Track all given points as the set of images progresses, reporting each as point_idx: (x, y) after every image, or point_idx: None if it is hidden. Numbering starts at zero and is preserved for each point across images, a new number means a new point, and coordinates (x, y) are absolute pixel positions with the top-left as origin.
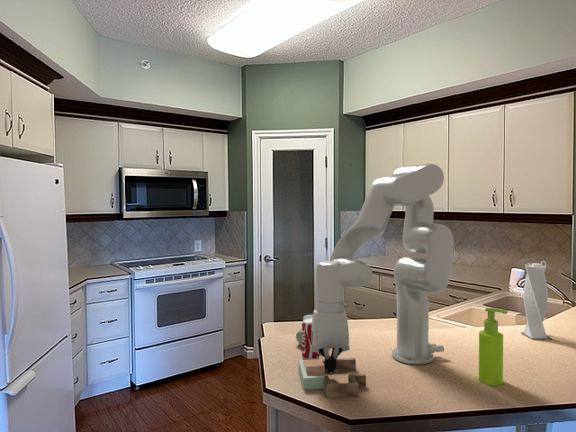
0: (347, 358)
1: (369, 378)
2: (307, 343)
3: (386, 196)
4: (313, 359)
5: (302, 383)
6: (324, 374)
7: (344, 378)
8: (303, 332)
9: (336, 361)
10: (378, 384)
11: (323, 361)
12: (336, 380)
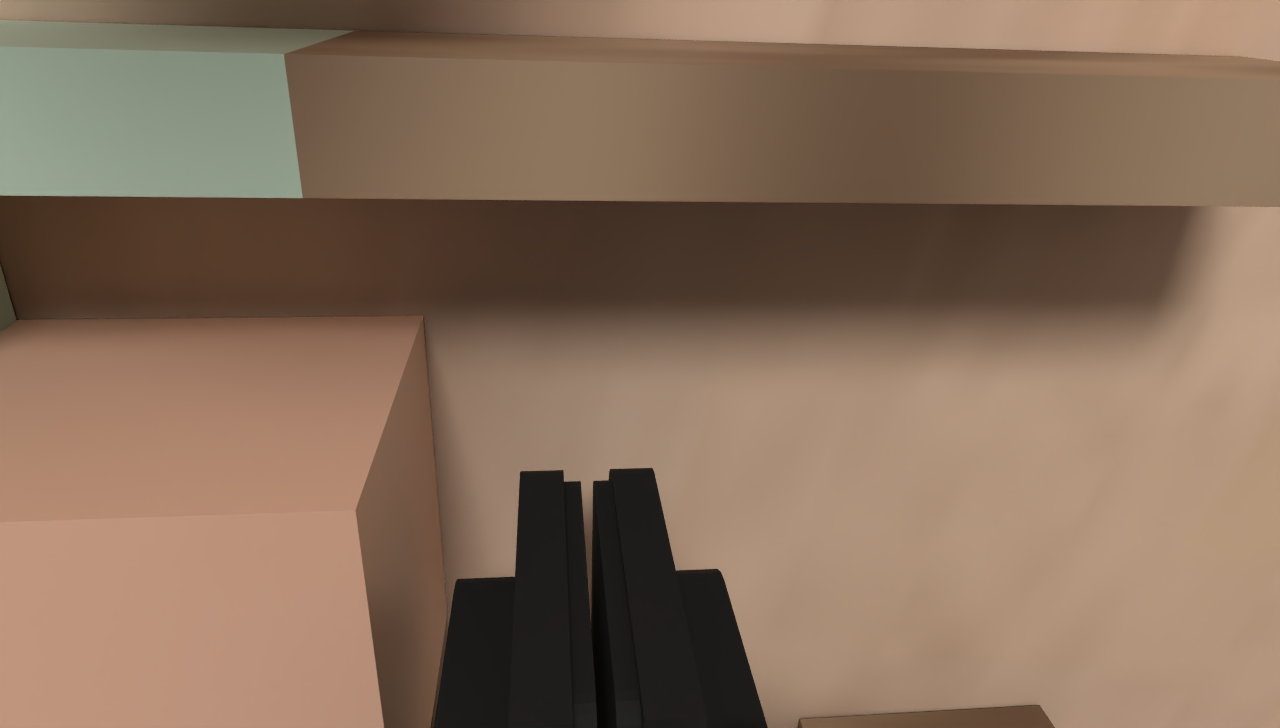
0: (1253, 95)
1: (1221, 527)
2: None
3: None
4: (68, 536)
5: None
6: (429, 725)
7: (827, 504)
8: None
9: (867, 193)
10: (1222, 697)
11: (472, 192)
12: None
